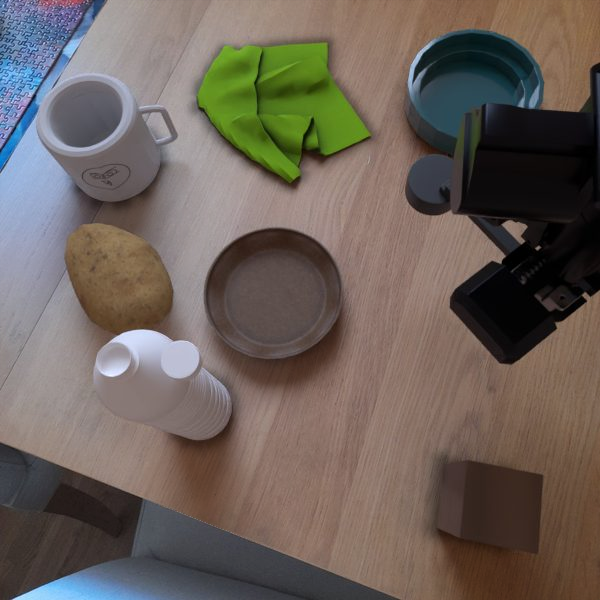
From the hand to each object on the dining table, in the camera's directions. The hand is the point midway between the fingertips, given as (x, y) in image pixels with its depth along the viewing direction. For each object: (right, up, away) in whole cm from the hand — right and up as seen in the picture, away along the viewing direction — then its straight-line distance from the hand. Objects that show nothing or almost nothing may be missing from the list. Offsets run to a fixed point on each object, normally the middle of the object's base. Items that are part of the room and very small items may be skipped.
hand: (537, 290), depth 47 cm
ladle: (-4, +5, +3) cm, 8 cm away
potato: (-39, 0, +16) cm, 42 cm away
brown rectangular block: (-3, -20, +7) cm, 22 cm away
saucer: (-23, -1, +15) cm, 27 cm away
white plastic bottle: (-29, -12, +12) cm, 34 cm away
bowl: (0, +23, +21) cm, 31 cm away
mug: (-41, +16, +21) cm, 48 cm away
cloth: (-22, +23, +22) cm, 39 cm away
